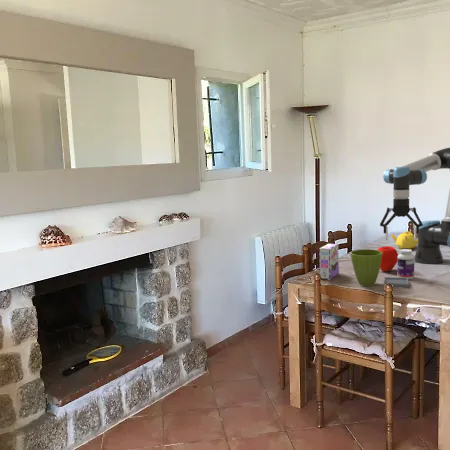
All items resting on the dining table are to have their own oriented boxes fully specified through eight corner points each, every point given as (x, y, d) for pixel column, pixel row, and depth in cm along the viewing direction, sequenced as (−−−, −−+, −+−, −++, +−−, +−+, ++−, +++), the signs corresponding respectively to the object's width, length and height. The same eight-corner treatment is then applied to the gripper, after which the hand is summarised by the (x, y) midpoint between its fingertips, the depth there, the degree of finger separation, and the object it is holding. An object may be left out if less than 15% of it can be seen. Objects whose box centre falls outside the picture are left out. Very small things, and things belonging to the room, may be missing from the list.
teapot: (425, 246, 327) (426, 229, 325) (419, 252, 312) (420, 234, 310) (394, 244, 338) (394, 228, 336) (386, 250, 323) (386, 232, 321)
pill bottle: (394, 276, 260) (394, 249, 258) (409, 275, 261) (410, 248, 258) (401, 280, 252) (401, 252, 250) (417, 279, 253) (417, 251, 250)
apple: (398, 274, 265) (398, 248, 263) (374, 273, 269) (374, 248, 267) (398, 268, 276) (398, 244, 274) (376, 267, 280) (376, 244, 278)
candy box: (330, 280, 259) (329, 248, 257) (319, 279, 262) (318, 248, 260) (339, 273, 271) (338, 243, 268) (328, 272, 274) (328, 243, 271)
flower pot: (346, 286, 247) (346, 254, 244) (356, 279, 259) (355, 248, 257) (377, 289, 239) (377, 256, 236) (385, 281, 251) (385, 250, 249)
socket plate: (407, 281, 250) (407, 277, 249) (408, 287, 239) (408, 283, 239) (384, 281, 253) (384, 277, 253) (384, 287, 242) (384, 283, 242)
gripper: (427, 196, 252) (426, 238, 255) (375, 197, 259) (375, 238, 263) (428, 198, 245) (428, 241, 248) (375, 199, 252) (375, 241, 255)
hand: (400, 240), depth 255 cm, fingers open, 13 cm apart
